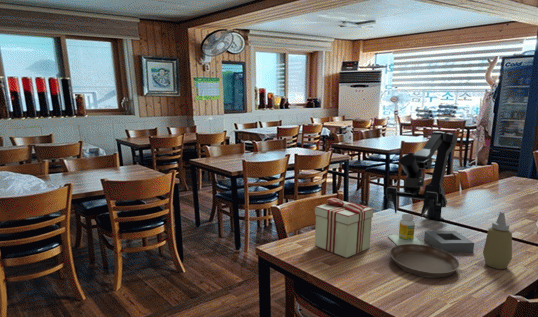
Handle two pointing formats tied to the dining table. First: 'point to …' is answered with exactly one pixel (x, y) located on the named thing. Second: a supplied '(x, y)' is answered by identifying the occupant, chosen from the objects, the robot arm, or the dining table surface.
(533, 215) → the dining table surface
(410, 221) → the supplement bottle
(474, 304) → the dining table surface
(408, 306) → the dining table surface
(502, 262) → the squeeze bottle
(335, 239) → the gift box
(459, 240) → the holder
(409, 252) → the plant saucer
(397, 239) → the tile
